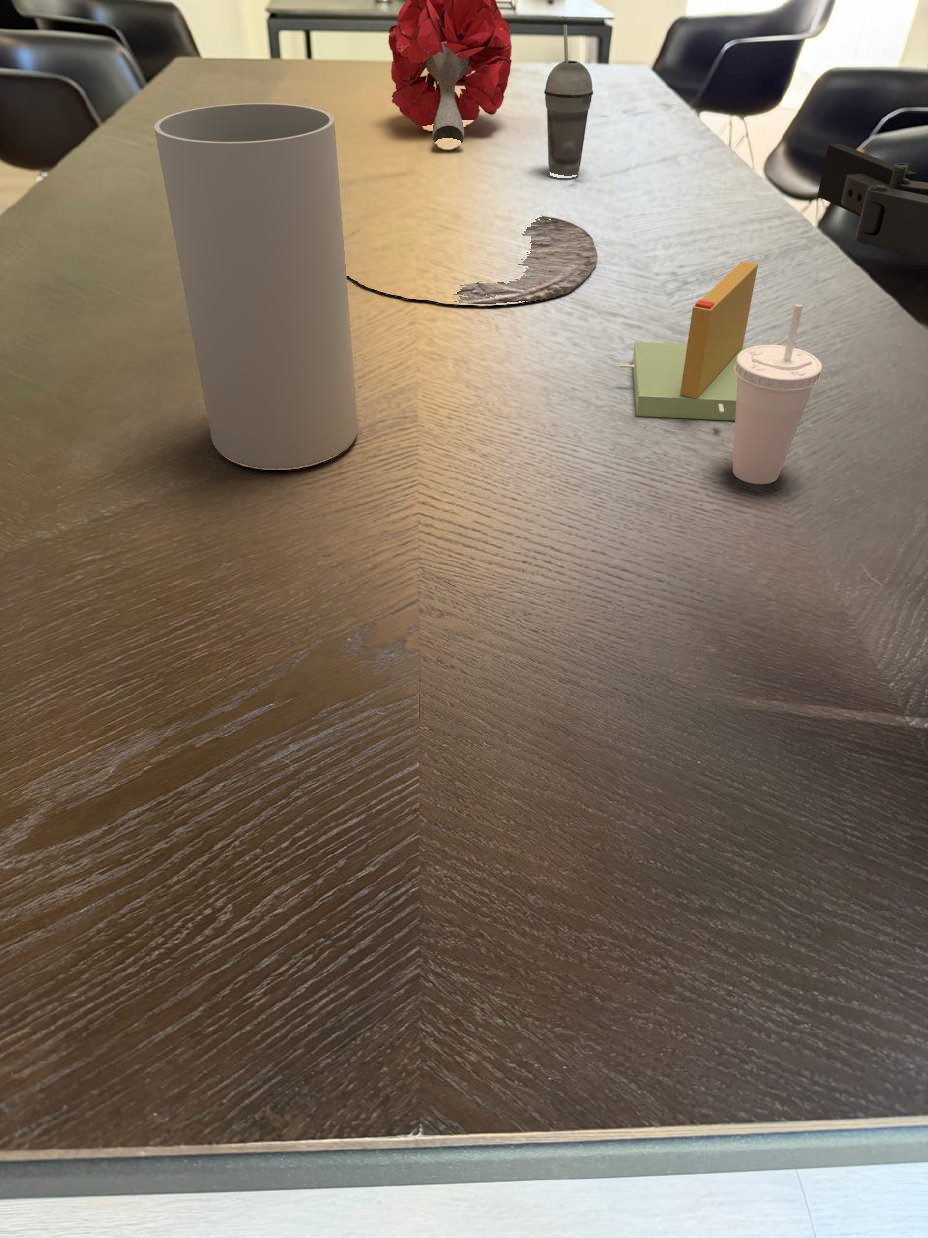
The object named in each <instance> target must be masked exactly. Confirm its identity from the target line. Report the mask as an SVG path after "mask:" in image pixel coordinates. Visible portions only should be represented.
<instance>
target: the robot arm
mask: <svg viewBox="0 0 928 1238" xmlns="http://www.w3.org/2000/svg"><path fill="white" fill-rule="evenodd" d="M827 145H828V146H827V149H826V154H825V158H824V162H823V168H822V174H821V177H820V180H819V181H820V182H819V187H818V191H817V195H816V197H818V198H820V199H822V200H824V201H826V202H828V203H830V204H833V205H835V206H837V207H839V208H841V209H843V210H845V211H847V212H849V213H852V214H854V215H856V216H858V217H859V218H860V219H859V221H858V225H857V230H856V234H855V236H854V237H855V238H854V240H855V241H856V242H857V243H861V244H862V245H865V246H872V247H876V248H880V249H885V250H888V251H893V252H897V253H901V254H906V255H909V256H913V257H917V258H921V259H925V260H928V182H925V181H917V175H918V173H917V172H915V171H912V170H909V169H910V163H905V162H900V163H896V164H893V163H891V162H888V161H886V160H883V159H880V158H878V157H875V156H873V155H870V154H867V153H865V152H862V151H860V150H858V149H855V148H852V147H849V146H847V145H846V144H845V145H844V144H842V143H834V144H833V143H832V144H827Z"/></svg>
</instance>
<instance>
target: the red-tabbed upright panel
mask: <svg viewBox="0 0 928 1238" xmlns="http://www.w3.org/2000/svg"><path fill="white" fill-rule="evenodd" d="M758 267H759V264H758V263H752V262H747V261H740V263H738V264H737V265H736V266H735V267H734V268H733V269H732V270H730V271H729V272H728V274H726V276H724V277H723V278H722V279H721V280H720V281H719V282H718V283H717V284H716V285H714V287H712V289H710V290H709V291H708V292H707V293H706V294H705V295H704V296H703V297H702V298H701V299H699V300H698V301H696V303H695V304H694V305H693V306H692V311H691V317H690V323H689V331H688V337H687V343H686V344H687V350H686V357H685V363H684V370H683V377H682V384H681V390H680V395H683V396H687V397H691V398H696V399H697V398H698V397H699V395H700V394H701V393H702V392H703V391H704V390H705V389H706V388H707V386H708V385H709V384H710V383H711V382H712V381H713V380H714V379H715V377H716V376H717V375H718V374H719V373H720V372H721V371H722V370H723V368H724V367H725V366H726V365H727V364H728V363H729V362H730V361H731V359H732V358H733V357H734V356H735V355H736V354H737V353H738V352H739V350H740V349H741V348H742V347H743V346H744V342H745V338H746V337H745V336H746V331H747V327H748V320H749V317H750V316H749V315H750V312H751V311H750V310H751V305H752V299H753V295H754V289H755V283H756V279H757V272H758Z"/></svg>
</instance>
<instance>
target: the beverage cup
mask: <svg viewBox="0 0 928 1238" xmlns="http://www.w3.org/2000/svg"><path fill="white" fill-rule="evenodd" d="M562 26H563V49H564V50H563V51H564V52H563V53H564V61H561V62H559V63H558V64H556V65H555V66H554V67H553V68H552V69H551V71H550V72H549V74H548V76H547V79H546V82H545V88H544V91H543V94H544V100H545V101H544V102H545V108H546V124H547V126H546V127H547V128H546V129H547V157H548V159H547V160H548V161H547V163H548V172H549V171H550V172H551V173H554V174H558V175H564V176H572V175H577V174H578V176H576V177H572V178H557V177H553V176H550V175H549V174H548V176H549V177H550V178H552V179H555V180H566V181H567V180H574V179H577V178H578V177H579V172H580V167H581V163H582V155H583V150H584V142H585V135H586V129H587V122H588V115H589V110H590V107H591V102H592V97H593V95H594V90H593V81H592V76H591V73H590V72H589V70H588V69H587V67H586V66H585V65H584V64H583V63H581V62H579V61H576V60H569V47H568V45H569V44H568V42H569V41H568V24H563V25H562Z"/></svg>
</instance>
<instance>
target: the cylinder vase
mask: <svg viewBox="0 0 928 1238" xmlns="http://www.w3.org/2000/svg"><path fill="white" fill-rule="evenodd" d="M153 128H154V134H155V139H156V145H157V151H158V155H159V160H160V166H161V171H162V178H163V182H164V188H165V192H166V197H167V203H168V209H169V210H168V211H169V216H170V220H171V226H172V232H173V237H174V243H175V247H176V253H177V254H176V255H177V260H178V264H179V270H180V275H181V280H182V281H181V282H182V286H183V291H184V296H185V297H184V298H185V302H186V308H187V313H188V319H189V325H190V329H191V335H192V339H193V340H192V341H193V346H194V352H195V357H196V362H197V367H198V372H199V373H198V374H199V378H200V384H201V389H202V395H203V400H204V406H205V412H206V417H207V423H208V427H209V433H210V439H211V442H212V444H213V447H214V446H215V447H214V449H215V448H216V449H217V450H218V451H219V452H220V453H221V454H223V455H224V456H225V457H227V458H229V459H231V460H233V461H235V462H238V463H241V464H245V465H248V466H252V467H258V468H260V467H261V468H270V469H271V468H275V469H278V468H293V467H300V466H305V465H310V464H314V463H317V462H320V461H323V460H326V459H328V458H330V457H333V456H335V455H337V454H339V453H341V452H342V451H344V450H345V451H347V450H348V449H349V447H351V445H352V444H353V443H354V441H355V440H356V437H357V435H358V431H359V421H358V420H359V419H358V409H357V394H356V382H355V370H354V369H355V368H354V354H353V342H352V332H351V331H352V330H351V318H350V305H349V303H350V302H349V292H348V291H349V290H348V277H347V276H346V264H345V251H344V239H345V238H344V227H343V213H342V202H341V201H342V199H341V187H340V174H339V161H338V149H337V136H336V121H335V117H334V116H333V115H332V114H331V113H330V112H329V111H326V110H323V109H320V108H316V107H311V106H306V105H301V104H299V105H298V104H290V103H289V104H288V103H275V102H274V103H272V102H264V103H263V102H252V103H251V102H248V103H247V102H245V103H229V104H218V105H211V106H210V105H209V106H203V107H196V108H192V109H186V110H183V111H179V112H175V113H171V114H169V115H167V116H164V117H162V118H160V119H159V120H157V121H156V122H155V124H154V126H153ZM216 449H215V450H216ZM217 450H216V451H217ZM218 451H217V452H218ZM345 451H344V452H345ZM219 452H218V453H219ZM220 453H219V454H220ZM221 454H220V455H221ZM341 454H342V453H341ZM303 469H305V468H303ZM303 469H302V470H303ZM297 470H299V469H297ZM297 470H296V471H297ZM261 471H263V470H261ZM289 471H291V470H289ZM289 471H288V472H289ZM263 472H264V471H263Z"/></svg>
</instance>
